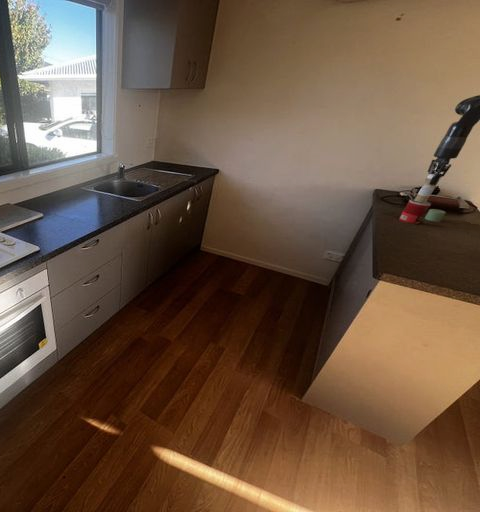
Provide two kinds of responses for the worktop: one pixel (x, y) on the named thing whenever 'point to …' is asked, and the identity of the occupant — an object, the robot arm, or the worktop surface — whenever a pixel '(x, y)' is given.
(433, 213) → the green rounded block
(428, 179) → the sprinkles bottle
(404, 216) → the canned food
